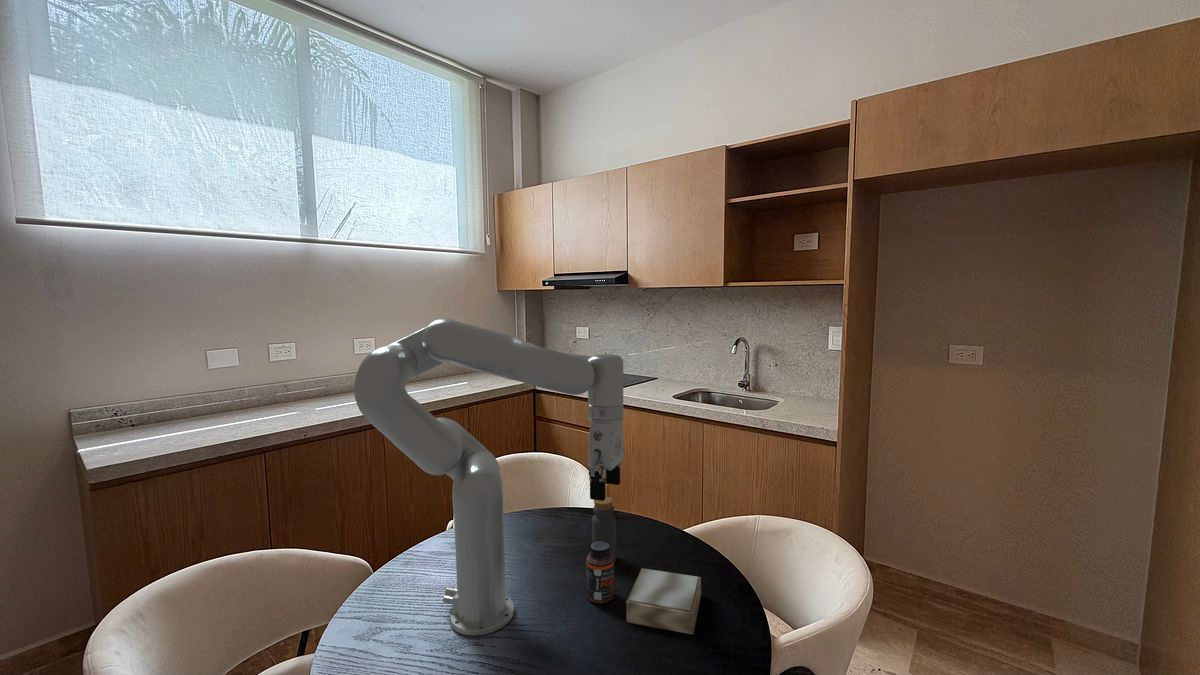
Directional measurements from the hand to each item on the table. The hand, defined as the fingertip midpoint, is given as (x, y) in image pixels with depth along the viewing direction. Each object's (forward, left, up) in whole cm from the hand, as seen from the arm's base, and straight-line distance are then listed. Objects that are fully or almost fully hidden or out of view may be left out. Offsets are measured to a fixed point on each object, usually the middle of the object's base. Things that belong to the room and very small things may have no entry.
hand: (605, 491), depth 102 cm
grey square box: (+13, -1, -23) cm, 26 cm away
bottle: (-5, +14, -23) cm, 27 cm away
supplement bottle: (-1, -1, -23) cm, 23 cm away
